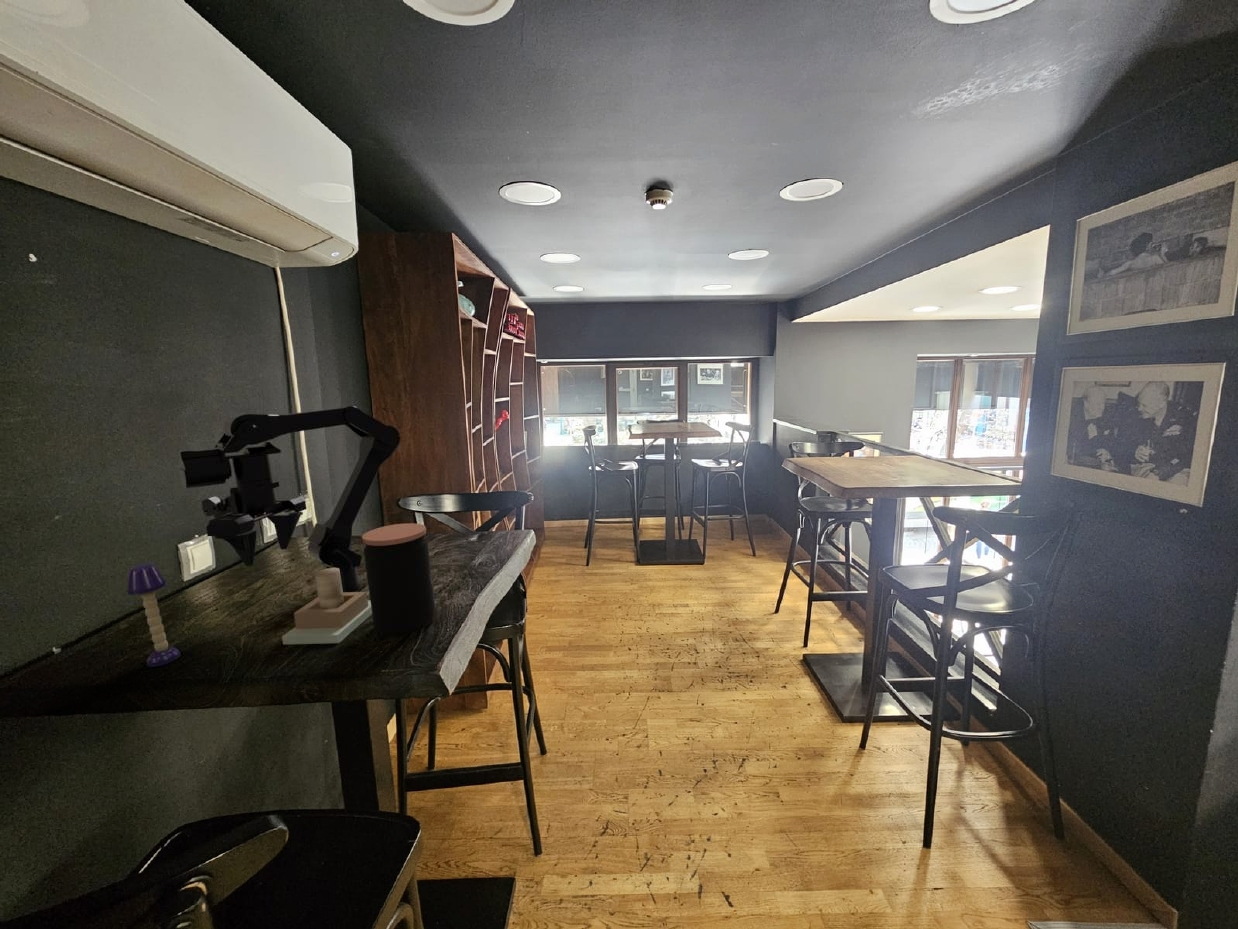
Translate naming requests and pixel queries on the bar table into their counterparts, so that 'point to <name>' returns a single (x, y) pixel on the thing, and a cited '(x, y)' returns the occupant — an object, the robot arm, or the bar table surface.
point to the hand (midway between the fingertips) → (267, 557)
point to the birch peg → (329, 588)
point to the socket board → (329, 620)
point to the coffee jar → (399, 578)
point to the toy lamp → (152, 610)
